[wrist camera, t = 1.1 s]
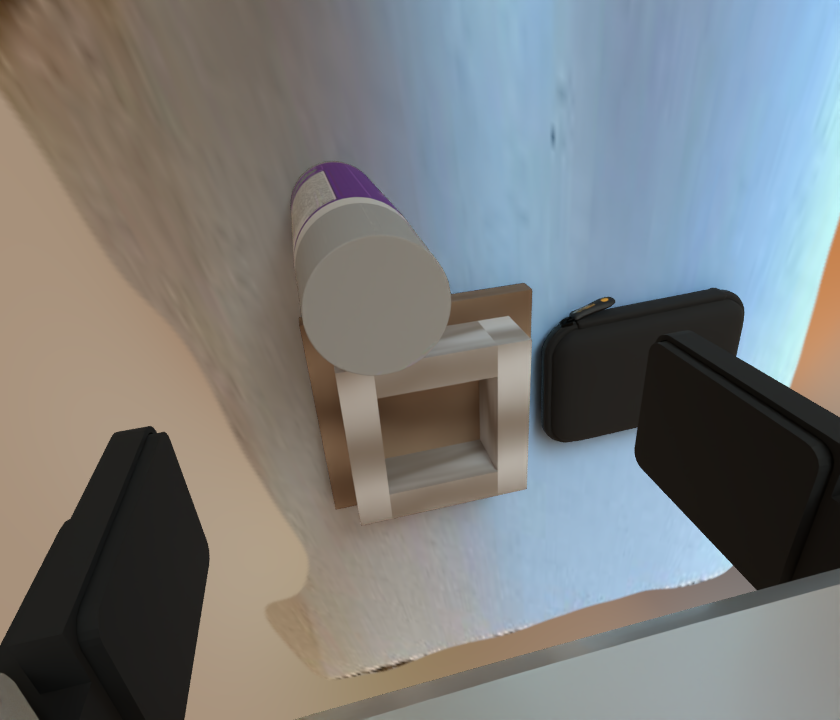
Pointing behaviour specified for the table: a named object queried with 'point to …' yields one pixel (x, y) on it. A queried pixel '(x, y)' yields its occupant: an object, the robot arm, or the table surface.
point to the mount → (433, 414)
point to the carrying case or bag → (621, 357)
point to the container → (363, 274)
